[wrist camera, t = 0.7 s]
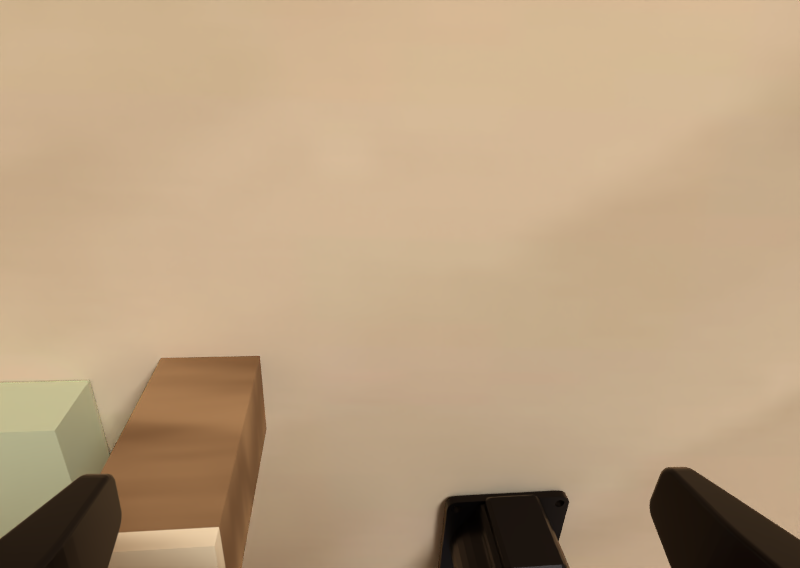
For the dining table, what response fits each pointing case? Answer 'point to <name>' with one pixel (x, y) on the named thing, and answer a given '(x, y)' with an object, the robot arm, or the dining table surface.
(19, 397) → the block
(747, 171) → the dining table surface
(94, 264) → the dining table surface
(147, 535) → the walnut block
